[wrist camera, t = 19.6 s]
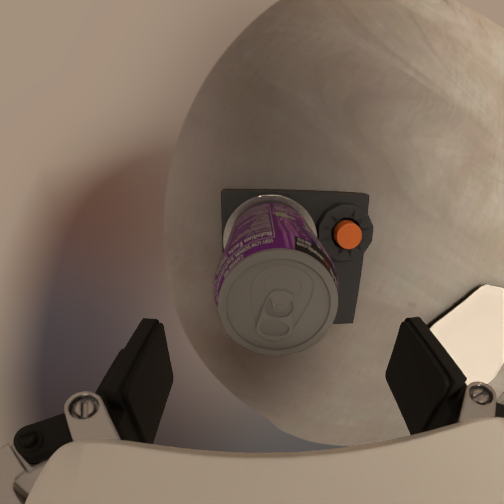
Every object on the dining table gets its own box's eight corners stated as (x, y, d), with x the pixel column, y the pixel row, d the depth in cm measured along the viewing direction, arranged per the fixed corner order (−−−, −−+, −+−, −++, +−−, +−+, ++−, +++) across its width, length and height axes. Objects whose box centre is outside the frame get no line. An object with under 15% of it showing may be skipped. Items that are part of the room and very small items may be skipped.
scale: (226, 316, 32) (223, 331, 30) (223, 189, 28) (219, 192, 25) (350, 316, 32) (357, 329, 29) (365, 192, 28) (376, 197, 25)
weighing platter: (224, 283, 28) (224, 285, 27) (222, 193, 25) (221, 194, 25) (313, 283, 28) (313, 285, 27) (319, 195, 25) (320, 195, 25)
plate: (445, 272, 30) (451, 277, 29) (531, 292, 31) (536, 295, 30) (377, 410, 38) (379, 417, 36) (472, 400, 38) (475, 405, 37)
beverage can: (301, 283, 27) (326, 367, 16) (225, 272, 27) (203, 353, 16) (317, 208, 25) (363, 252, 14) (235, 195, 25) (216, 229, 13)
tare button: (332, 244, 27) (335, 249, 25) (334, 219, 26) (337, 222, 25) (356, 245, 27) (360, 249, 25) (358, 220, 26) (363, 223, 25)
